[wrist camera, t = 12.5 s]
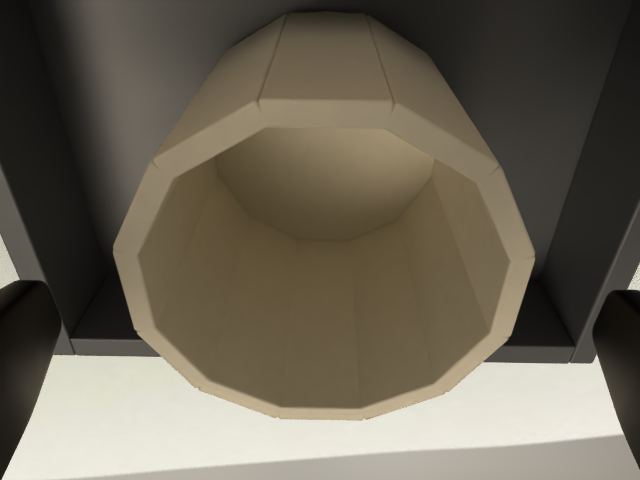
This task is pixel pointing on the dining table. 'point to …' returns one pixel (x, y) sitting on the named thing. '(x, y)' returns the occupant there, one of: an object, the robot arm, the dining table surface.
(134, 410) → the dining table surface
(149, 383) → the dining table surface
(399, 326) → the pot
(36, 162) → the sink
